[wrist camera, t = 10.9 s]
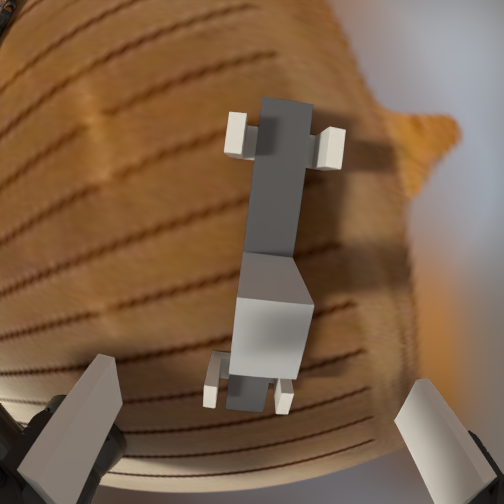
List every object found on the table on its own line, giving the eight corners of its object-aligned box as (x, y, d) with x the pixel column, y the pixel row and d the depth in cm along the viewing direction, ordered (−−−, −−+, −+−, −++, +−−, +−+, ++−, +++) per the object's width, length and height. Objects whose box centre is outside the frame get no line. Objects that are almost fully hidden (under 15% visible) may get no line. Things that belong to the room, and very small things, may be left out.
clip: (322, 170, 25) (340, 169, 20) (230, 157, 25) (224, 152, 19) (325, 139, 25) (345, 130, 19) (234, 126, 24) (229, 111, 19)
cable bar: (261, 394, 31) (264, 478, 19) (227, 391, 30) (218, 475, 19) (306, 112, 23) (347, 64, 11) (261, 105, 23) (268, 49, 11)
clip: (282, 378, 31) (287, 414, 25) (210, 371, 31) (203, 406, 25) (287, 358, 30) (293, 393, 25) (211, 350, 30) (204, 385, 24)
